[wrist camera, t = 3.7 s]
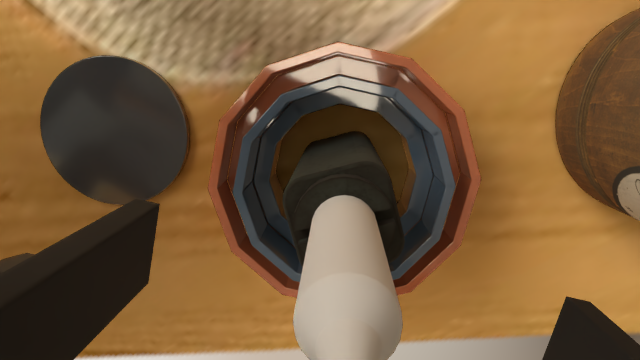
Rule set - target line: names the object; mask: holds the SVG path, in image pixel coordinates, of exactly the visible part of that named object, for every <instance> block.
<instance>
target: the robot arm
mask: <svg viewBox="0 0 640 360" xmlns="http://www.w3.org/2000/svg"><path fill="white" fill-rule="evenodd" d="M159 205H160V204H157V203H153V202H149V201H144V200H140V199H134V200H133V201H131V202H129V203H127V204H125V205H124V206H122V207H120V208H118V209H116V210H115V211H113V212H111V213H109V214H107V215H106V216H104V217H102V218H100V219H98V220H96V221H95V222H93V223H91V224H89V225H87V226H86V227H84V228H82V229H80V230H78V231H77V232H75V233H73V234H71V235H69V236H68V237H66V238H64V239H62V240H60V241H59V242H57V243H55V244H53V245H51V246H50V247H48V248H46V249H44V250H42V251H41V252H39V253H37V254H35V255H34V254H30V253H25V254H21V255H17V256H13V257H9V258H6V259H2V260H0V360H74V359H75V358H76V356H77V355H78V354H79V353H80V352H81V351H82V350H83V349H84V348H85V347H86V346H87V345H88V344H89V343H90V342H91V341H92V340H93V339H94V338H95V337H96V336H97V335H98V334H99V333H100V332H101V331H102V330H103V329H104V328H105V327H106V326H107V325H108V324H109V323H110V322H111V321H112V320H113V319H114V318H115V316H116V315H117V314H118V313H119V312H120V311H121V310H122V309H123V308H124V307H125V306H126V305H127V304H128V303H129V302H130V301H131V300H132V299H133V298H134V297H135V296H136V295H137V294H138V293H139V292H140V291H141V290H142V289H143V288H144V287H145V286H146V285H147V284H148V281H149V274H150V268H151V261H152V254H153V247H154V240H155V233H156V226H157V219H158V212H159ZM543 360H640V345H639V344H638V343H636V342H635V341H634V340H633V339H632V338H631V337H630V336H629V335H627V334H626V333H625V332H624V331H623V330H622V329H621V328H619V327H618V326H617V325H616V324H615V323H614V322H613V321H611V320H610V319H609V318H608V317H607V316H606V315H605V314H603V313H602V312H601V311H600V310H599V309H598V308H597V307H595V306H594V305H593V304H592V303H591V302H588V301H584V300H580V299H575V298H571V297H566V299H565V302H564V304H563V307H562V309H561V312H560V315H559V317H558V320H557V323H556V325H555V328H554V330H553V333H552V336H551V338H550V341H549V344H548V346H547V349H546V351H545V354H544V357H543Z"/></svg>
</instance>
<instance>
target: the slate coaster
mask: <svg viewBox="0 0 640 360" xmlns="http://www.w3.org/2000/svg"><path fill="white" fill-rule="evenodd" d="M40 127H41V136H42V140H43V144H44V147H45V150H46V152H47V155H48V157H49V159H50V161H51V163H52V164H53V166H54V167H55V169H56V170H57V172H58V173H59V174H60V175H61V176H62V177H63V179H64V180H65V181H67V182H68V183H69V184H70V185H71V186H72V187H73V188H75V189H76V190H78V191H79V192H81V193H82V194H84V195H86V196H88V197H90V198H92V199H95V200H97V201H101V202H104V203H110V204H119V205H125V204H127V203H129V202H131V201H133V200H134V199H140V200H144V201H145V200H148V199H151V198H152V197H154V196H156V195H158V194H160V193H161V192H162V191H164V190H165V189H166V188H168V187H169V186H170V185H171V184H172V183H173V182H174V180H175V179H176V178H177V176H178V175H179V174H180V172H181V170H182V168H183V166H184V164H185V161H186V158H187V155H188V150H189V142H190V133H189V124H188V119H187V116H186V112H185V109H184V107H183V105H182V103H181V100H180V99H179V97H178V95H177V94H176V92H175V91H174V89H173V88H172V87H171V86H170V84H169V83H168V82H167V81H166V80H165V79H164V78H163V77H162V76H161V75H159V74H158V73H157V72H156V71H154V70H153V69H151V68H150V67H148V66H146V65H145V64H142V63H140V62H138V61H136V60H132V59H129V58H126V57H119V56H110V55H101V56H93V57H89V58H86V59H83V60H80V61H78V62H76V63H74V64H72V65H71V66H69V67H67V68H66V69H65V70H64V71H63V72H61V73H60V74H59V75H58V76H57V78H56V79H55V80H54V81H53V83H52V84H51V86H50V87H49V89H48V91H47V93H46V95H45V98H44V101H43V105H42V109H41V116H40Z"/></svg>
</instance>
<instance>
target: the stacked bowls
mask: <svg viewBox="0 0 640 360" xmlns="http://www.w3.org/2000/svg"><path fill="white" fill-rule="evenodd" d="M333 56H334V57H333ZM344 56H345V57H344ZM330 57H331V58H330ZM327 58H328V59H327ZM353 58H354V59H353ZM324 59H325V60H324ZM357 59H358V60H357ZM321 60H322V61H321ZM318 61H319V62H318ZM366 61H367V62H366ZM315 62H316V63H315ZM312 63H313V64H312ZM309 64H310V65H309ZM379 64H380V65H379ZM306 65H307V66H306ZM303 66H304V67H303ZM388 66H389V67H388ZM392 67H393V68H392ZM276 76H277V77H276ZM275 77H276V78H275ZM274 78H275V79H274ZM269 84H270V85H269ZM268 85H269V86H268ZM263 91H264V92H263ZM262 92H263V93H262ZM261 93H262V94H261ZM425 93H426V94H427V95H428V96H429V97H430V98H431V99H432V100H433V101H434V102H435V103H436V104H437V105H438V106H437V105H436V104H435V103H434V102H433V101H432V100H431V99H430V98H429V97H428V96H427V95H426V94H425ZM256 99H257V100H256ZM255 100H256V101H255ZM289 104H290V105H289ZM337 104H343V105H348V106H352V107H356V108H361V109H365V110H370V111H374V112H377V113H378V114H379V115H381V116H382V117H383V118H384V119H385V120H386V121H387V122H388V123H389V124H390V125H391V126H392V127H393V128H394V129H395V130H396V131H397V132H398V133H399V134H400V136H401V140H402V143H403V147H404V150H405V154H406V158H407V161H408V165H409V169H408V173H407V177H406V180H405V184H404V188H403V191H402V195H401V199H400V200H399V201H398V202H397V207H398V212H399V216H400V220H401V224H402V229H403V233H404V239H405V243H404V248H403V250H402V252H401V254H400V255H399V257H398V258H397V259H396V260H394V261H393V262H391V263H389V264H388V265H389V268H390V272H391V275H392V279H393V283H394V286H395V290H396V294H397V295H401V294H405V293H409V292H412V290H414V289H415V288H416V287H417V286H418V285H419V284H420V283H421V282H422V281H423V280H424V279H425V278H426V277H427V276H429V275H430V274H431V273H432V272H433V271H434V270H435V269H436V268H437V267H438V266H439V265H440V264H441V263H442V262H444V261H445V260H446V259H447V258H448V257H449V256H450V255H451V254H452V253H453V252H454V251H455V250H456V249H458V248H459V247H460V246H461V243H462V240H463V237H464V233H465V230H466V227H467V224H468V221H469V217H470V214H471V211H472V208H473V205H474V201H475V198H476V195H477V192H478V189H479V185H480V182H481V176H480V172H479V168H478V164H477V160H476V156H475V151H474V147H473V143H472V139H471V135H470V131H469V127H468V123H467V119H466V115H465V111H464V109H463V108H462V107H461V106H460V105H459V104H458V103H457V102H456V101H455V100H454V99H453V98H452V97H450V96H449V95H448V94H447V93H446V92H445V91H444V90H443V89H442V88H441V87H440V86H439V85H438V84H437V83H436V82H435V81H434V80H433V79H432V78H431V77H430V76H429V75H428V74H427V73H426V72H425V71H424V70H423V69H422V68H421V67H420V66H419V65H418V64H417V63H416V62H415V61H414V60H413V59H412V58H408V57H404V56H399V55H395V54H390V53H386V52H382V51H377V50H373V49H369V48H364V47H360V46H355V45H351V44H347V43H342V42H335V43H332V44H329V45H326V46H323V47H320V48H317V49H314V50H311V51H308V52H305V53H302V54H299V55H296V56H293V57H290V58H287V59H284V60H281V61H277V62H274V63H271V64H268V65H266V66H265V67H264V69H263V70H262V71H261V72H260V73H259V75H258V76H257V77H256V78H255V79H254V80H253V82H252V83H251V84H250V85H249V86H248V87H247V89H246V90H245V91H244V92H243V93H242V94H241V96H240V97H239V98H238V99H237V100H236V101H235V103H234V104H233V105H232V106H231V107H230V108H229V110H228V111H227V112H226V113H225V114H224V115H223V117H222V118H221V119H220V120H219V126H218V132H217V137H216V143H215V149H214V155H213V161H212V167H211V173H210V179H209V185H208V191H209V193H210V196H211V199H212V201H213V204H214V207H215V209H216V212H217V215H218V217H219V220H220V222H221V225H222V228H223V230H224V233H225V236H226V238H227V241H228V244H229V246H230V249H231V252H233V253H234V254H235V255H236V256H237V257H239V258H240V259H241V260H242V261H243V262H245V263H246V264H247V265H248V266H249V267H250V268H252V269H253V270H254V271H255V272H256V273H257V274H259V275H260V276H261V277H262V278H263V279H264V280H266V281H267V282H268V283H269V284H270V285H272V286H273V287H274V288H275V289H276V290H277V291H279V292H280V293H281V294H282V295H287V296H291V297H296V298H297V295H298V290H299V285H300V280H301V274H302V269H303V267H302V266H301V264H300V262H299V259H298V256H297V252H296V249H295V245H294V242H293V238H292V235H291V232H290V228H289V225H288V221H287V218H286V215H285V211H284V208H283V202H282V199H283V192H282V189H281V186H280V183H279V180H278V177H277V174H276V167H277V162H278V157H279V153H280V148H281V143H282V138H283V137H284V136H285V135H286V134H287V133H288V132H289V131H290V129H291V128H292V127H293V126H294V125H295V124H296V123H297V122H298V121H299V119H300V118H301V117H302V116H303V115H306V114H309V113H312V112H315V111H318V110H321V109H325V108H328V107H331V106H334V105H337ZM250 106H251V107H250ZM249 107H250V108H249ZM248 108H249V109H248ZM281 113H282V114H281ZM445 113H446V115H445ZM243 114H244V115H243ZM405 114H406V115H407V116H408V117H407V116H406V115H405ZM242 115H243V116H242ZM446 116H447V119H446ZM447 120H448V122H447ZM237 121H238V123H237ZM273 122H274V123H273ZM448 124H449V126H448ZM236 126H237V128H236ZM449 128H450V130H449ZM235 131H236V134H235ZM265 131H266V132H265ZM450 132H451V134H450ZM422 133H423V134H422ZM261 136H262V137H261ZM423 136H424V138H423ZM451 136H452V138H451ZM234 137H235V139H234ZM260 140H261V141H260ZM424 140H425V141H424ZM452 140H453V142H452ZM233 142H234V145H233ZM425 144H426V145H425ZM453 144H454V146H453ZM259 145H260V147H259ZM232 148H233V151H232ZM426 148H427V149H426ZM454 148H455V150H454ZM258 150H259V152H258ZM427 151H428V153H427ZM455 152H456V154H455ZM231 154H232V156H231ZM257 155H258V157H257ZM428 155H429V156H428ZM456 156H457V158H456ZM230 159H231V162H230ZM429 159H430V160H429ZM256 160H257V162H256ZM457 160H458V162H457ZM430 163H431V164H430ZM458 164H459V166H458ZM229 165H230V167H229ZM255 166H256V168H255ZM431 166H432V168H431ZM459 168H460V170H459ZM228 170H229V173H228ZM432 170H433V171H432ZM254 171H255V173H254ZM459 173H460V176H459ZM227 176H228V179H227ZM253 176H254V178H253ZM458 177H459V179H458ZM227 180H228V182H227ZM457 180H458V182H457ZM228 183H229V184H228ZM456 183H457V186H456ZM229 186H230V187H229ZM455 187H456V189H455ZM230 188H231V190H230ZM231 191H232V193H231ZM454 191H455V192H454ZM232 194H233V195H232ZM453 194H454V196H453ZM233 196H234V198H233ZM452 197H453V199H452ZM234 199H235V201H234ZM451 200H452V202H451ZM235 202H236V204H235ZM450 204H451V206H450ZM236 205H237V206H236ZM237 207H238V209H237ZM449 207H450V209H449ZM238 210H239V212H238ZM448 210H449V212H448ZM239 213H240V214H239ZM447 214H448V216H447ZM240 216H241V217H240ZM446 217H447V219H446ZM241 218H242V220H241ZM445 220H446V222H445ZM242 221H243V223H242ZM243 224H244V225H243ZM444 224H445V226H444ZM244 227H245V228H244ZM443 227H444V229H443ZM245 229H246V231H245ZM246 232H247V234H248V235H247V234H246Z"/></svg>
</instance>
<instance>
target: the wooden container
mask: <svg viewBox="0 0 640 360" xmlns="http://www.w3.org/2000/svg"><path fill="white" fill-rule="evenodd" d="M556 136H557V143H558V147H559V151H560V154H561V157H562V159H563V162H564V164H565V166H566V168H567V170H568V171H569V173H570V174H571V176H572V177H573V179H574V180H575V181H576V182H577V183H578V185H579V186H580V187H581V188H582V189H583V190H584V191H586V192H587V193H588V194H589V195H591V196H592V197H594V198H595V199H597V200H599V201H600V202H602V203H604V204H606V205H608V206H610V207H612V208H614V209H616V210H618V211H621V212H623V213H625V214H627V215H629V216H631V217H633V218H635V219H637V220H639V221H640V9H638V10H636V11H633V12H631V13H629V14H627V15H625V16H623V17H622V18H620V19H618V20H616V21H615V22H613V23H612V24H610V25H609V26H607V27H606V28H605V29H604V30H602V31H601V32H600V33H599V34H598V35H597V36H596V37H594V38H593V39H592V40H591V41H590V43H589V44H588V45H587V46H586V47H585V48H584V50H583V51H582V52H581V54H580V55H579V56H578V58H577V59H576V61H575V62H574V64H573V66H572V67H571V69H570V71H569V73H568V75H567V77H566V79H565V82H564V84H563V87H562V90H561V93H560V96H559V100H558V106H557V112H556Z"/></svg>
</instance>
